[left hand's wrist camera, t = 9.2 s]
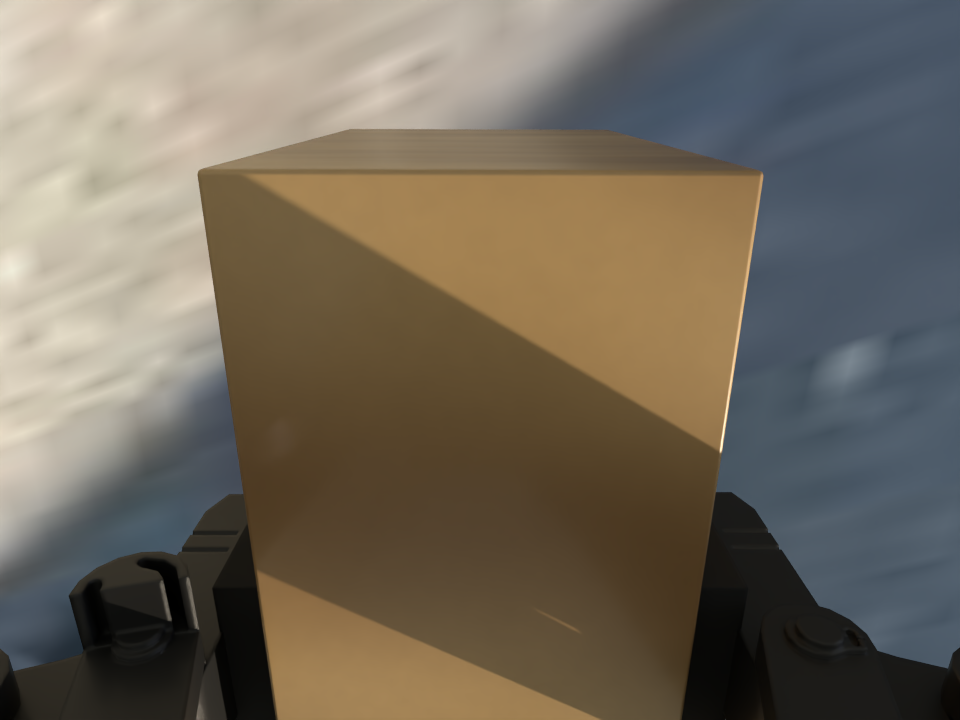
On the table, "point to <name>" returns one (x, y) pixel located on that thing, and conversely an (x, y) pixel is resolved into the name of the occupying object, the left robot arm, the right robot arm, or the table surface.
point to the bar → (479, 413)
